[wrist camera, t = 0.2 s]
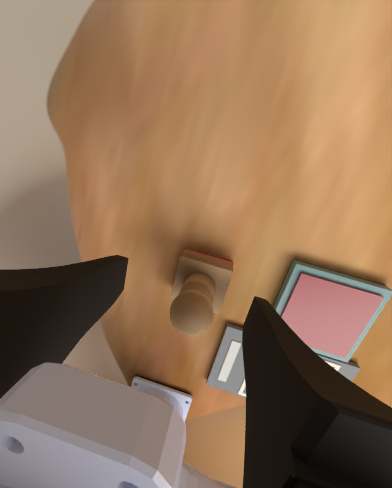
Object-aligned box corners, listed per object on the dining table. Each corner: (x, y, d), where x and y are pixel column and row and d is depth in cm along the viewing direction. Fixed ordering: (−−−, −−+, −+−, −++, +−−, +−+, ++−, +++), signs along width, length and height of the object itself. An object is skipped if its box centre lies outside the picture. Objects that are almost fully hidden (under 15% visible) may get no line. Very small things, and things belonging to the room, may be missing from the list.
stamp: (219, 303, 23) (212, 363, 16) (175, 289, 24) (148, 342, 16) (233, 262, 22) (232, 308, 14) (185, 248, 22) (160, 286, 15)
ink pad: (342, 354, 23) (348, 365, 22) (262, 329, 23) (264, 338, 22) (386, 285, 20) (396, 293, 19) (293, 259, 20) (297, 265, 19)
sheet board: (320, 418, 26) (322, 425, 25) (206, 380, 27) (206, 385, 26) (357, 363, 23) (361, 369, 22) (227, 322, 24) (227, 326, 23)
